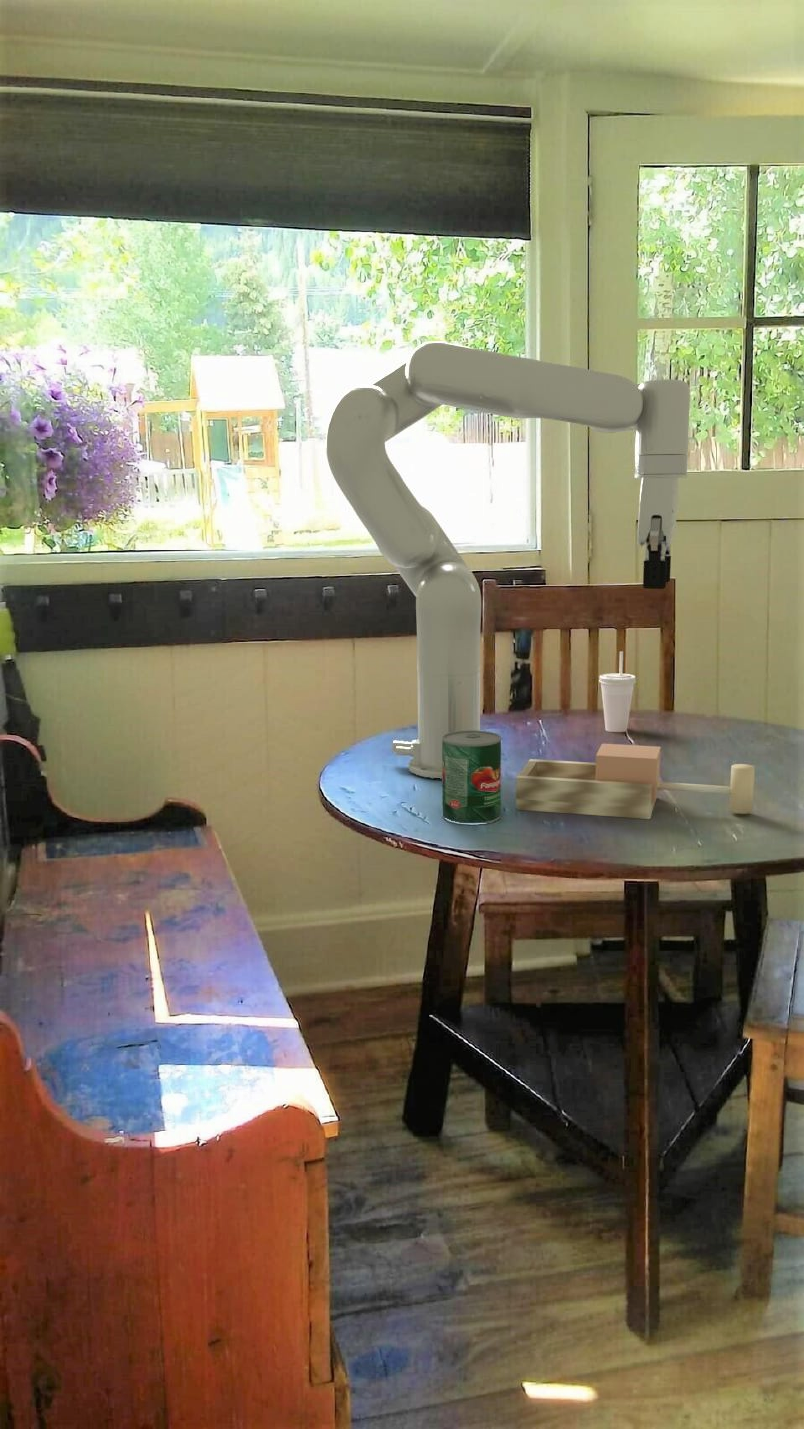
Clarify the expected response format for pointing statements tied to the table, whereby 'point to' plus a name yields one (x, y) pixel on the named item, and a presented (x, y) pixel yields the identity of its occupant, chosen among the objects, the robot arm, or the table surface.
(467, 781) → the canned tomato
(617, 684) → the smoothie
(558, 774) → the wooden tray
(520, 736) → the table surface
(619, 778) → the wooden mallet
